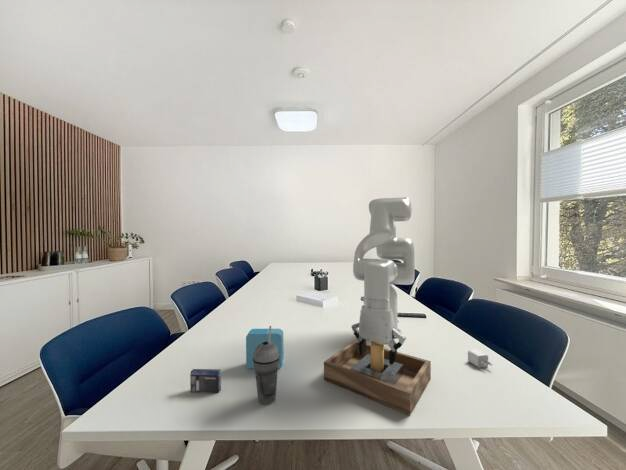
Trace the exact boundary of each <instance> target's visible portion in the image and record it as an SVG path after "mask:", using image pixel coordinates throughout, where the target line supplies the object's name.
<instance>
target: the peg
mask: <svg viewBox="0 0 626 470" xmlns="http://www.w3.org/2000/svg"><path fill="white" fill-rule="evenodd" d="M370 345H371V354H370V369H371V370H374V371H377V372H380V373H383V372H384V348H385V344H381V343H377V342H373V341H370Z"/></svg>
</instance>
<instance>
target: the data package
mask: <svg viewBox="0 0 626 470" xmlns="http://www.w3.org/2000/svg"><path fill="white" fill-rule="evenodd" d="M268 336H269V328H252V329H250V330H249V331H248V333H247V334H246V336H245V354H246V355H245V361H246V362H245V364H246V367H247V368H248V369H249V370H255V367H254V361H253V356H254V351H255V349H256V348H257V346H258V345H259V344H261V343H262V342H266V341H268ZM270 342H272V343H273V344H275V345H276V346H277V348H278V351H279V355H280V358H279V364H278V370H279V369H280V368H282V366H283V362H284V357H285V355H284V349H285V348H284V331H283V329H281V328H271V335H270Z"/></svg>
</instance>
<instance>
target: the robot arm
mask: <svg viewBox="0 0 626 470" xmlns="http://www.w3.org/2000/svg"><path fill="white" fill-rule="evenodd" d="M368 210H369V215H370V221H369V222H370V223H369V232H368V234H367V235H366V236H365V237H363V238H362V240H361V241H360V242H359V243H358V244H357V247H356V248H355V251H354V257H353V265H352V267H353V268H352V273H353V276H354V278H355V279H356V280H357V281H362V282H363V294H364V295H363V296H360V301H362V302H363V305H361V309H360V315H359V322H357V323H353V324H352V325H351V329H352V332H353V335H354V337H356V339H357V340H356V341H358V342H359V350H360V355H363V354H364V353H365V352H366V343H367V341H370V342H372V341H373V342H377V343H381V344H384V346H385V345H387V346H388V347H389V350H390V351H389V363H390V364H391V365H392V364H393V363H394V362H395V361H396V360H397V352H398V349H400V348H401V347H402V346H403V344H405V341H406V340H407V337H406V336H405V335H404V334H403V333H402V331H401V329H399V328H398V326H399V325H398V324H399V320H398V292H397V291H396V289H395V288H394V287H393V286H392V285H400V286H401V285H402V286H404V285H405V286H408V285H412V284H413V283H414V282H415V277H416V275H415V274H416V273H415V269H416V268H415V246H414V242H413V240H412V239H410V238H408V237H397V227H396V225H395V222H408V221H409V220H410V219H411V217H412V211H413V209H412V202H411V199H410V198H409V197H408V196H407V197H406V196H402V197H401V196H399V197H379V198H375V199H371V200H370V201H369V204H368ZM372 249H376V256H377V257H378V258H364V256H365V255H366V254H367V253H368V252H369V251H371V250H372ZM393 260H396V261H399V260H400V261H403V262H394V261H393ZM395 338H397V339H398V342H396V341H395Z"/></svg>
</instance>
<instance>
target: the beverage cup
mask: <svg viewBox="0 0 626 470" xmlns="http://www.w3.org/2000/svg"><path fill="white" fill-rule="evenodd" d="M268 329H269V336H268V341H266V342H262V343H261V344H259V345H258V346H257V348H256V349H255V351H254V356H253V361H254V367H255V369H254V370H255V372H254V373H255V381H256V382H255V383H256V390H257V393H256V394H257V397H258V403H259V404H260V405H263V406H268V405H271V404H273V403H274V402H275V400H276V395H277V385H278V384H277V383H278V372H279V371H278V370H279V369H278V364H279V358H280V355H279V351H278V348H277V346H276V345H275V344H273V343H272V342H270V335H271V329H272V325H270V326H269V328H268Z"/></svg>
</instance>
